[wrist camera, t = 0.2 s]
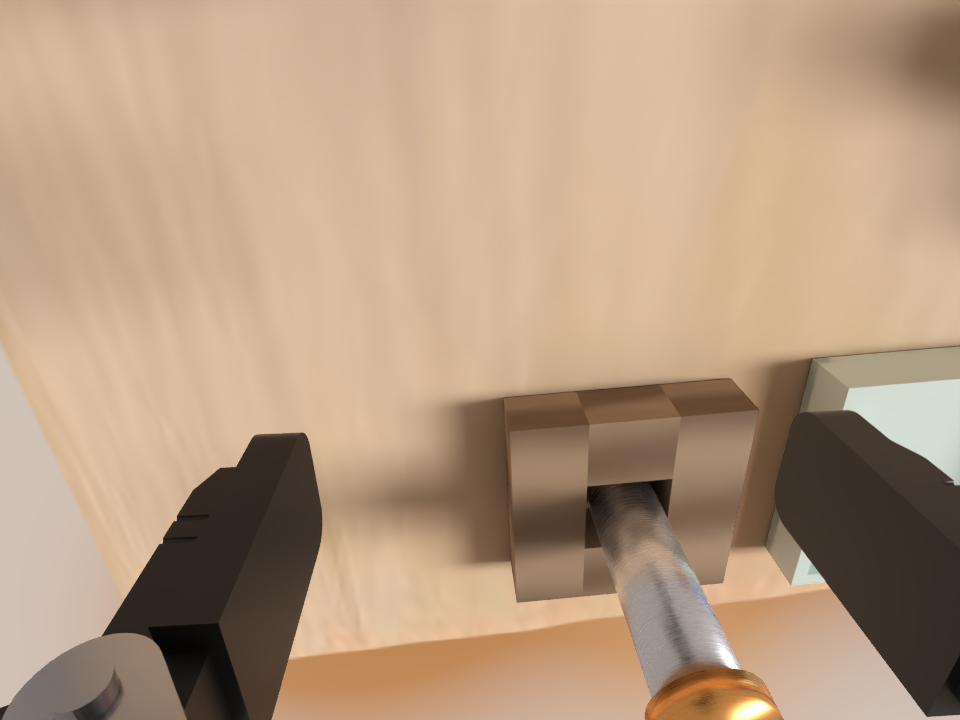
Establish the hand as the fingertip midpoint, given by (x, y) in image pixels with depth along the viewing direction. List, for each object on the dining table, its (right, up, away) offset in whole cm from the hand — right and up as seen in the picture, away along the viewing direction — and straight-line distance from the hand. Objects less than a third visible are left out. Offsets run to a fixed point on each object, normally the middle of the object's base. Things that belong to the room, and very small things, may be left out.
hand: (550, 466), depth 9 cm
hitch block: (+6, -5, +23) cm, 24 cm away
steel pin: (+6, -5, +23) cm, 24 cm away
